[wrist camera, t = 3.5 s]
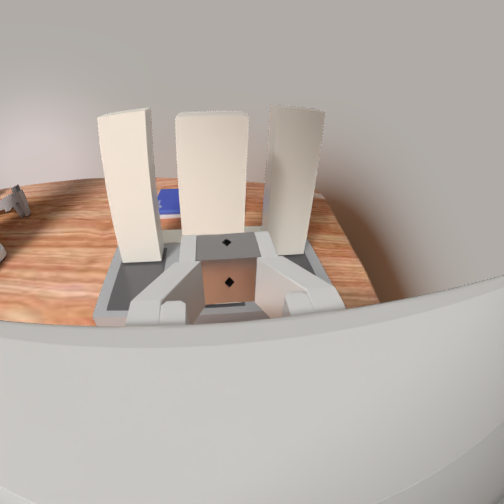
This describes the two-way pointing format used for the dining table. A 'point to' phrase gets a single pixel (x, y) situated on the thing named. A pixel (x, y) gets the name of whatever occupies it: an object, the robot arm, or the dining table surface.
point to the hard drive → (169, 203)
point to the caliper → (16, 202)
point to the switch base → (144, 273)
